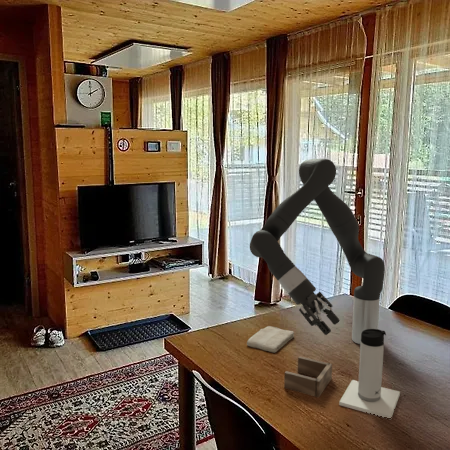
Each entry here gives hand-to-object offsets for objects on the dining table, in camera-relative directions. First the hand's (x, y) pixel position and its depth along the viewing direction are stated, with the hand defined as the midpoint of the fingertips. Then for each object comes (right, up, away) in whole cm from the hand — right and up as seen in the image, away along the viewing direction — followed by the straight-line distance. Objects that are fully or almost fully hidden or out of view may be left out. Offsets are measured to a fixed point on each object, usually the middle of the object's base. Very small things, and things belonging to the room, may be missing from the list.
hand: (333, 327), depth 133 cm
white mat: (+10, -20, -2) cm, 23 cm away
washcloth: (-14, -14, +38) cm, 43 cm away
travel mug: (+10, -19, -2) cm, 22 cm away
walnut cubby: (-6, -19, +7) cm, 21 cm away
